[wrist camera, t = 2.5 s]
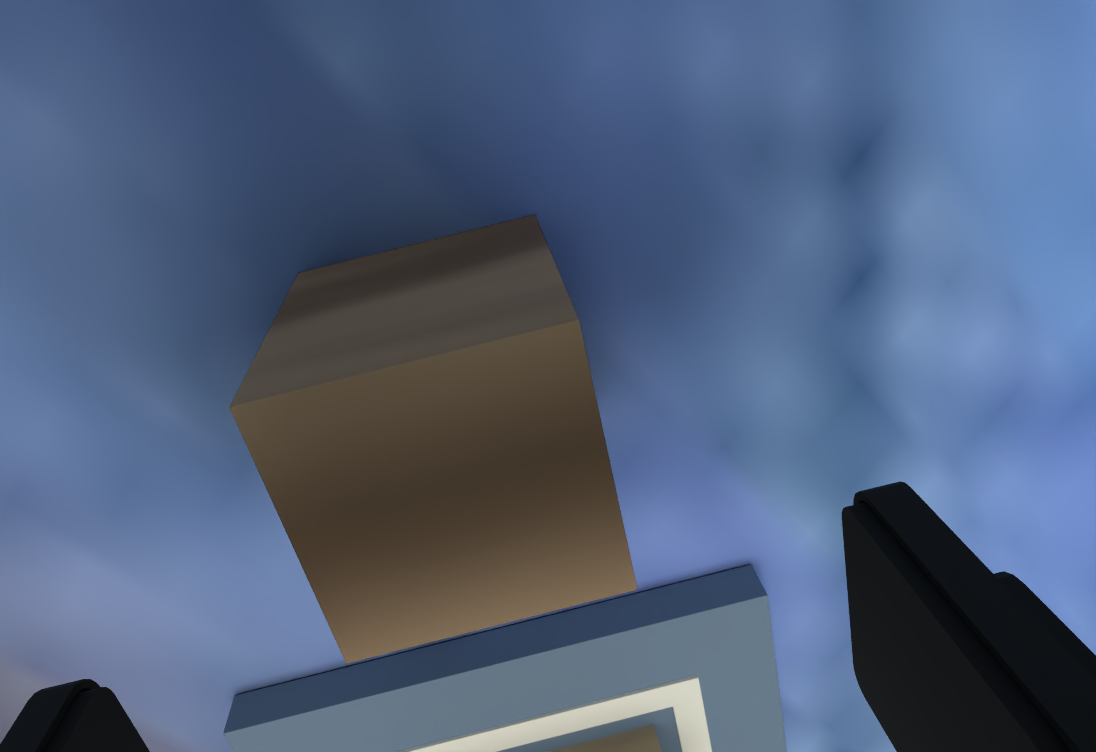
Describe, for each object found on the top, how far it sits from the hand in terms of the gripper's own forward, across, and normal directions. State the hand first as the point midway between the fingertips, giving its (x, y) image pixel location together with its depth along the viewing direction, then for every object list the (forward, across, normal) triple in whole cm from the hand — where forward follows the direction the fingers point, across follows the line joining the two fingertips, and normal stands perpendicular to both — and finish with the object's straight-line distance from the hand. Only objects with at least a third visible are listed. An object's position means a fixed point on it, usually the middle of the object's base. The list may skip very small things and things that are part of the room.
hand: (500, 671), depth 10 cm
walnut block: (+9, 0, -1) cm, 9 cm away
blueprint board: (+9, +2, +14) cm, 17 cm away
